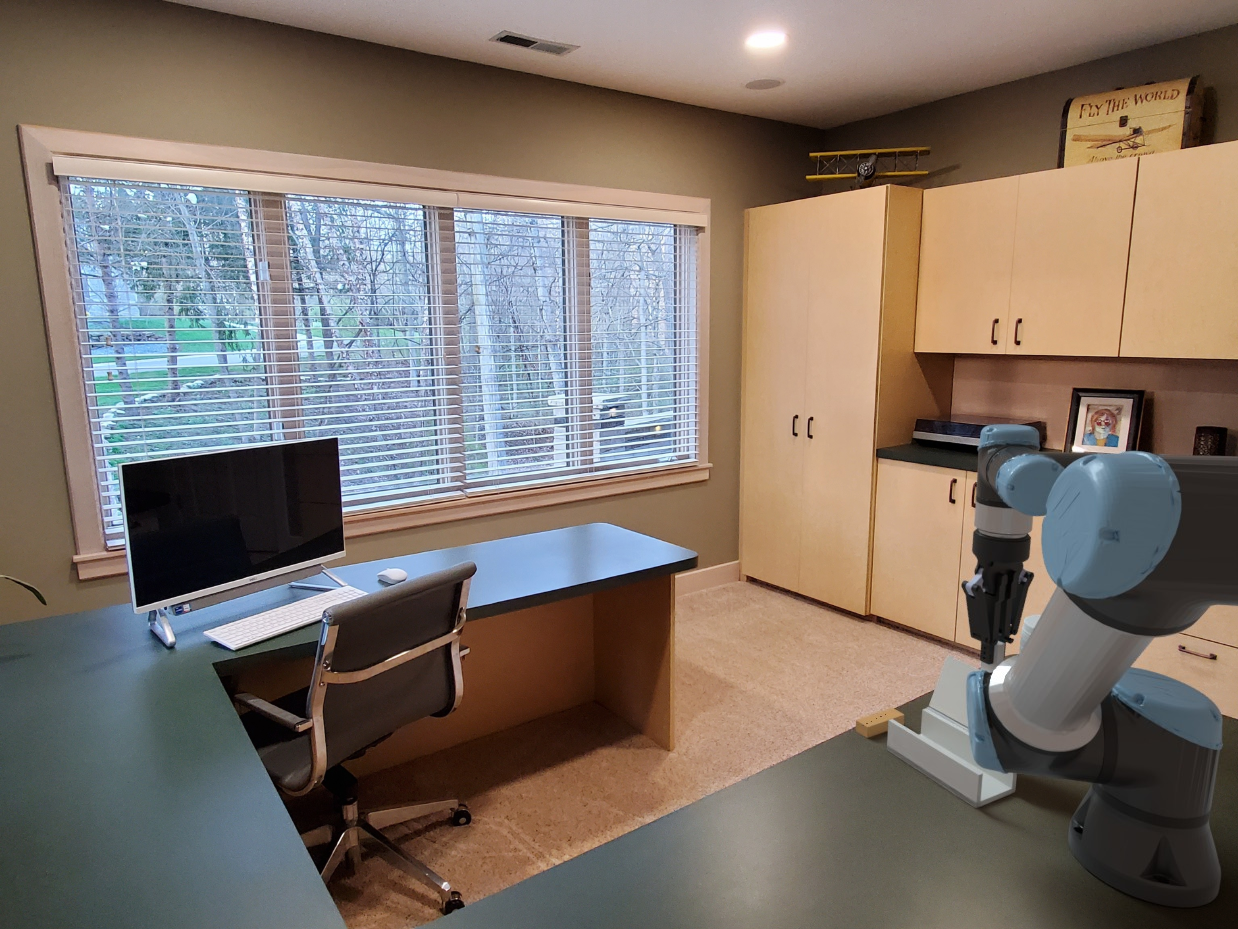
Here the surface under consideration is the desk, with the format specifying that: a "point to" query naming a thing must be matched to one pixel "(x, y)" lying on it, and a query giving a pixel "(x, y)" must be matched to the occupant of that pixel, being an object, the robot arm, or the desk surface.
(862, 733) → the offcut
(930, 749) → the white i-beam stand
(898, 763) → the desk surface
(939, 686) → the cover
